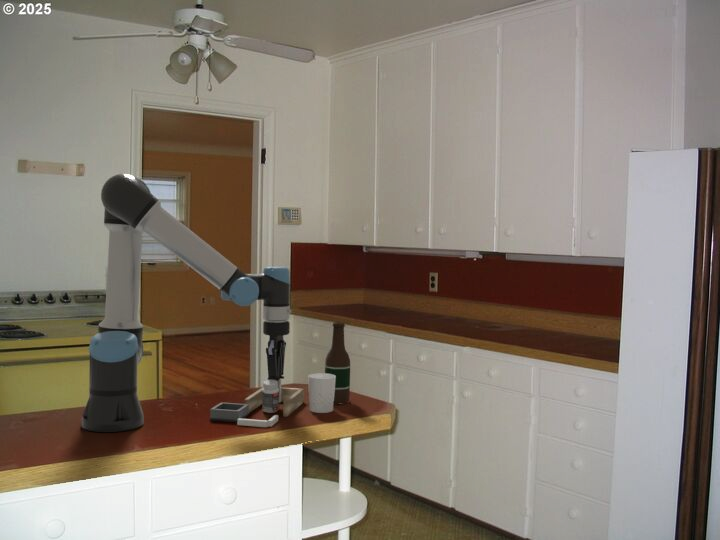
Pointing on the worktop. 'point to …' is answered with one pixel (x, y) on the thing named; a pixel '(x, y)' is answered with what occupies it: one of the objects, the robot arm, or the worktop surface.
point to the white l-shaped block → (258, 422)
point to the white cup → (321, 392)
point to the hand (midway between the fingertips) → (275, 401)
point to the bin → (229, 412)
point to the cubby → (288, 396)
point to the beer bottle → (339, 364)
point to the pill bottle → (270, 396)
